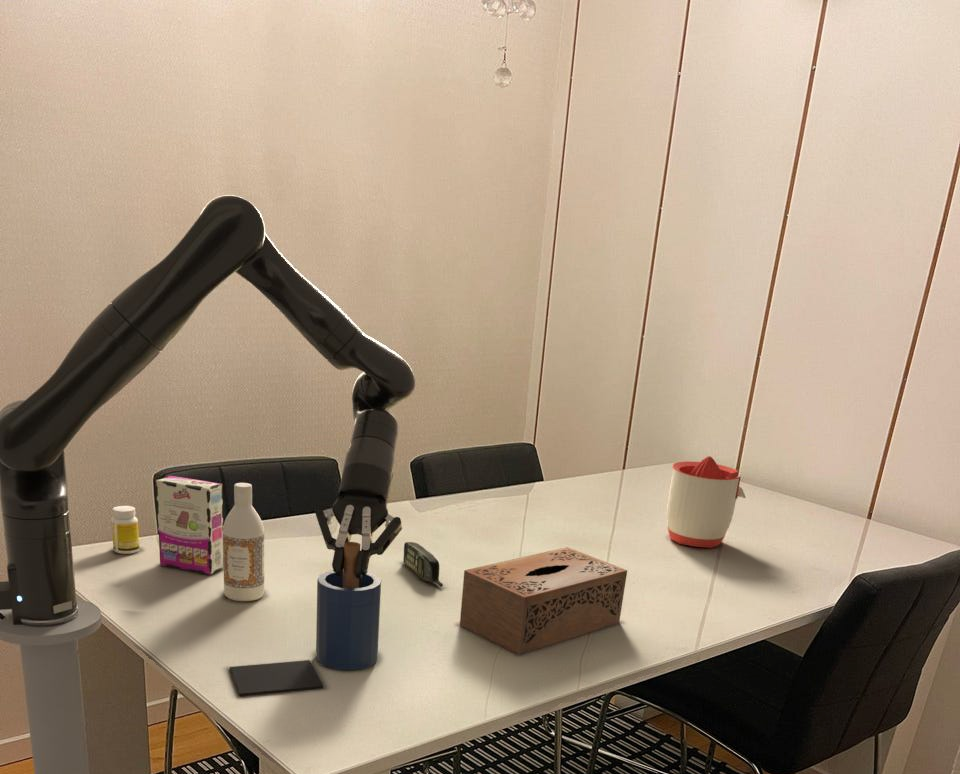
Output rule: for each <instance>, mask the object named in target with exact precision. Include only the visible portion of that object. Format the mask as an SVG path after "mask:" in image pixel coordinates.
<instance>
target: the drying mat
mask: <svg viewBox="0 0 960 774" xmlns="http://www.w3.org/2000/svg"><path fill="white" fill-rule="evenodd" d="M229 671H230V673H231V676H232V679H233V682H234V685H235V687H236V690H237V693H238V695H239V697H246V696H255V695H265V694H266V695H267V694H277V693H278V694H279V693H287V692H288V693H289V692H298V691H307V690H308V691H309V690H317V689H319V690H320V689H324V683H322V681H321V679H320V677H319V675H318V673H317V671H316V669H315V668H314V665H313V664H312V662H311V660H310V659H307V660H296V661H285V662H284V661H283V662H273V663H272V662H271V663H260V664H248V665H235V666H229Z"/></svg>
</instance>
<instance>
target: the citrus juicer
mask: <svg viewBox="0 0 960 774" xmlns="http://www.w3.org/2000/svg"><path fill="white" fill-rule="evenodd" d="M740 483H741V476H739V470H737V469H735V468H732V467H729V466H726V465H722V464H719V463H718V464H717V462H716V461H715V459H714V458H713V457H712V456H706V457H705V458H703V459H702V460H701V461H677V462H675V463H673V464H672V474H671V480H670V486H669V492H668V497H667V498H668V499H667V506H666V522H667V523H666V524H667V532H668V534H669V538H670V539H671V540H672V541H674V542H676V544H678V545H686V546H690V547H695V548H696V547H697V548H706V549H713V548H714V547H717V546H719V545H720V544H721V542H723V540H724V538H725V536H726V534H727V531H728V530H729V528H730V525H731V523H732V520H733V516H734V512H735V508H736V502H737V499H738V498H742V499H746V498H747V497H746V494H745V492H744V489H743V488H742V487H741V486H740Z"/></svg>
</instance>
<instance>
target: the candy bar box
mask: <svg viewBox="0 0 960 774" xmlns="http://www.w3.org/2000/svg"><path fill="white" fill-rule="evenodd" d="M155 490H156V509H157V511H156V512H157V529H158V548H159V549H158V550H159V565H160V566H163V567H167V568H172V569H173V568H174V569H179V570H183V571H189V572H195V573H200V574H205V575H210V576H211V575H213V574H216V573H217V572H219V571H221V570H224V569H223V526H224V507H223V505H224V504H223V501H224V500H223V483H220V482H219V483H218V482H212V481H208V480H200V479H194V478H188V477H181V476H176V475H168V476H165V477H161V478H160V479H156V480H155Z"/></svg>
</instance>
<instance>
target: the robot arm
mask: <svg viewBox="0 0 960 774" xmlns="http://www.w3.org/2000/svg"><path fill="white" fill-rule="evenodd" d="M234 273H236V274H237V275H239V276H240V277H241V278H242V279H244V280H245V281H247V282H248V283H249V284H250V285H251V286H252V287H254V288H255V289H256V290H257V291H258V292H260V294H262V296H264V297H265V298H266V299H267V300H268V301H269V302H270V303H271V304H272V305H273V306H274V307H275V308H276V309H277V310H278V311H279V312H280V313H281V314H282V315H283V316H284V318H286V320H287V321H288V322H289V323H290V324H291V325H292V326H293V327H294V328H295V329H296V330H297V331H298V332H299V333H300V334H301V336H302V337H303V338H304V339H305V340H306V341H307V342H308V343H309V344H310V345H311V346H312V347H313V348H314V349H315V350H316V351H317V352H318V353H319V354H320V355H321V356H322V357H323V358H324V359H325V360H326V361H327V362H328V363H329V364H330V365H332V366H333V368H335V369H337V370H339V371H346V370H350V369H357V370H359V371H361V372H362V373H361V374H359V375H358V377H357V378H356V380H355V382H354V384H353V387H352V392H351V404H352V418H353V422H354V424H353V427H352V432H351V437H350V442H349V446H348V448H347V451H346V455H345V458H344V464H343V469H342V474H341V478H340V483H339V488H338V494H337V499H336V500H335V502H334V503H333V504H332V507H331V508H327V509H322V508H316V509H315V511H314V514H315V517H316V519H317V523H318V526H319V529H320V532H321V535H322V537H323V540H324V544H325V546H326V549H327V550H331V551H334V553H333V557H332V558H333V559H332V562H331V567H332V570H334V572H336V576H341V577H342V573H343V563H344V543H346V542H351V539H352V536H353V535H359V536H361V547H360V551H359V555H358V560H357V566H356V572H355V574H356V578H358V579H362V575H366V573H367V572H368V569H369V564H370V558H371V557H372V556H373V555H378V556H382V555H384V553H385V552H386V551H387V549H388V548H389V547H390V545H391V544H392V543H393V542H394V540H395V539H396V538H397V536H398V534H400V532H402V530H403V524H402V519H401V517H399V516H395V517H394V516H393V515H391V514H389V510H388V501H389V497H390V496H389V495H390V490H391V485H392V480H393V478H394V468H395V452H396V447H397V446H396V445H397V441H398V435H399V424H398V420H397V418H396V416H394V415H393V414H392V413H390V410H391V409H392V408H394V407H395V406H397V405H399V404H400V403H402V402H403V401H405V400H407V399H408V398H409V397H411V395H412V394H413V393H414V391H415V388H416V378H415V374H414V372H413V369H412V368H411V366H410V365H409V363H408V362H407V361H406V360H405V359H404V358H403V357H402V356H400V355H399V354H398V353H397V352H395V351H394V350H392V349H390V348H389V347H387V346H386V345H384V344H382V343H381V342H379V341H377V340H376V339H375V338H373V337H371V336H369V335H367V334H366V333H364V332H363V331H362V330H361V329H360V327H359V326H358V325H356V323H355V322H354V321H353V320H352V319H351V318H350V317H349V316H348V315H347V314H346V313H345V312H344V311H343V310H342V309H341V308H340V307H339V306H338V305H337V304H336V303H335V302H334V301H333V300H331V299H330V298H329V296H327V295H326V294H324V293H323V292H322V291H321V290H320V289H319V288H317V287H316V286H315V285H314V284H313V283H312V282H310V280H308V279H307V278H306V277H305V276H304V275H302V274H301V273H300V272H299V271H298V270H297V269H296V268H295V267H294V266H293V265H292V264H291V263H290V262H289V261H288V260H287V259H286V258H285V257H284V255H283V254H282V253H281V252H280V251H279V250H278V249H277V247H276V245H274V243H273V241H271V239H270V238H269V236H268V235H267V233H266V226H265V222H264V219H263V216H262V214H261V213H260V210H259V209H258V208H257V206H256V205H255V204H253V203H252V202H250V201H249V200H248V199H246V198H244V197H242V196H239V195H233V194H226V195H225V194H224V195H221V196H220V195H219V196H217V197H215V198H213V199H211V200H210V201H209V202H207V203H206V205H205V206H204V207H203V209H202V210H201V212H200V213H199V216H198V217H197V219H196V220H195V222H194V223H193V224H192V225H191V227H190V228H189V230H188V231H187V232H186V233H185V234H184V236H183V237H182V238H181V240H180V241H179V242H178V243H177V244H176V245H175V246H174V248H172V250H171V251H170V252H169V253H168V254H167V255H166V256H165V257H164V258H163V259H162V260H161V261H159V262H158V263H156V264H155V265H154V266H153V267H152V268H150V269H149V270H147V271H146V272H145V273H143V274H142V275H141V276H140V277H138V278H137V279H136V280H135V281H133V282H132V283H130V284H129V285H128V286H127V287H126V288H124V290H122V291H121V292H120V293H119V294H118V295H117V296H116V297H115V298H113V299H112V300H111V302H110V303H108V304H107V305H106V307H104V309H102V311H100V313H99V314H98V315H97V316H96V317H95V318H94V319H93V320H92V321H91V322H90V323H89V324H88V326H87V327H86V328H85V329H84V330H83V332H82V333H81V334H80V336H79V337H78V338H77V340H76V341H75V342H74V343H73V345H72V346H71V348H70V350H69V351H68V352H67V353H66V355H65V357H64V358H63V359H62V362H61V363H60V364H59V366H58V367H57V369H56V370H55V372H53V374H52V375H51V376H50V377H49V378H48V379H47V380H46V381H45V382H44V383H43V384H42V385H41V386H40V387H39V388H37V389H36V390H35V391H34V392H33V393H32V394H31V395H29V397H27V398H26V399H20V400H15V401H12V402H10V403H8V404H7V405H6V406H4V407H3V408H2V409H1V410H0V508H1V509H0V510H1V516H2V525H3V533H4V534H3V535H4V543H5V551H6V560H7V563H6V564H7V565H6V571H7V573H6V574H7V581H0V610H7V609H12V616H13V624H14V625H26V626H33V627H48V626H56V625H61V624H64V623H67V622H70V621H72V620H74V619H75V618H76V617H77V616H78V606H77V600H76V599H77V591H76V589H77V588H76V579H75V569H74V567H75V566H74V555H73V547H72V534H71V522H70V511H69V496H68V481H67V480H68V479H67V473H66V471H67V470H66V458H65V449H66V448H67V447H68V445H69V444H70V443H71V441H72V440H73V438H74V437H75V436H76V435H77V434H78V432H79V431H80V430H81V428H83V426H84V425H85V424H86V423H87V421H88V420H89V419H90V418H91V417H93V415H94V414H95V413H96V412H97V411H98V410H99V409H100V408H102V406H104V405H105V404H106V403H107V402H108V401H110V400H111V399H112V398H114V397H115V396H117V394H118V393H119V392H121V391H122V390H123V389H124V388H125V387H126V386H127V385H129V383H130V382H132V381H133V380H134V379H135V378H136V377H137V376H138V375H139V374H141V372H142V371H144V370H145V369H146V368H147V367H148V366H149V365H150V364H151V362H153V361H154V360H155V358H157V357H158V356H159V355H160V353H162V352H163V351H164V350H165V349H166V347H167V346H168V345H169V344H170V343H171V341H172V340H173V339H174V338H175V337H176V336H177V335H178V333H179V332H180V331H181V330H182V328H183V327H184V326H185V324H187V322H188V321H189V319H190V318H191V317H192V316H193V314H194V313H195V311H196V310H197V309H198V307H199V306H200V305H201V304H202V303H203V301H204V300H205V299H206V298H207V297H208V296H209V295H210V294H211V293H212V292H213V291H214V290H215V289H217V288H218V287H219V286H220V285H221V284H222V283H224V282H225V281H226V280H227V279H229V278H230V276H232V275H233V274H234ZM333 517H335V519H336V521H337V523H338V524H339V528H338V534H337V538H334V537H333V536H332V532H331V530H330V527H329V526H330V525H331V524H332V522H333V520H332V519H333ZM382 525H384V527H385V529H384V530H383V531H382V532H381V534H380V535H379V536H378V537H377V538H376V540H375V541H374V542H373V539H374V538H373V535H374V533H375V532H376V531H377V530H378V529H379V528H381V526H382ZM4 618H5V616H4V615H3V614H2V613H0V619H1V620H3V619H4Z"/></svg>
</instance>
